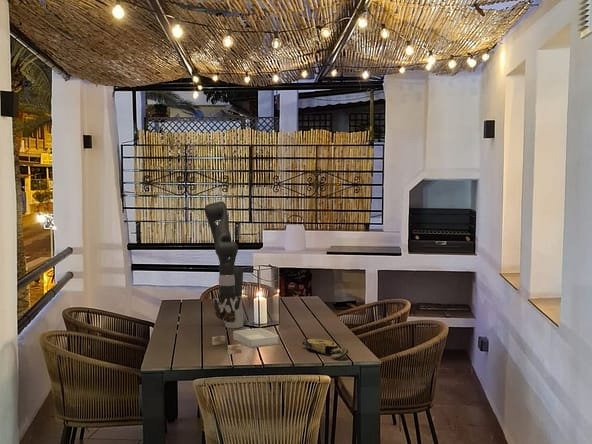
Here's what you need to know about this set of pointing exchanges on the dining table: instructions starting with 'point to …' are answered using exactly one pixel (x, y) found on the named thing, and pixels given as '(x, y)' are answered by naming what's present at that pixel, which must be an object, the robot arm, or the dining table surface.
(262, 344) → the tray
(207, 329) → the dining table surface
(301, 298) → the dining table surface
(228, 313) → the bolt
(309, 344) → the pulley block
